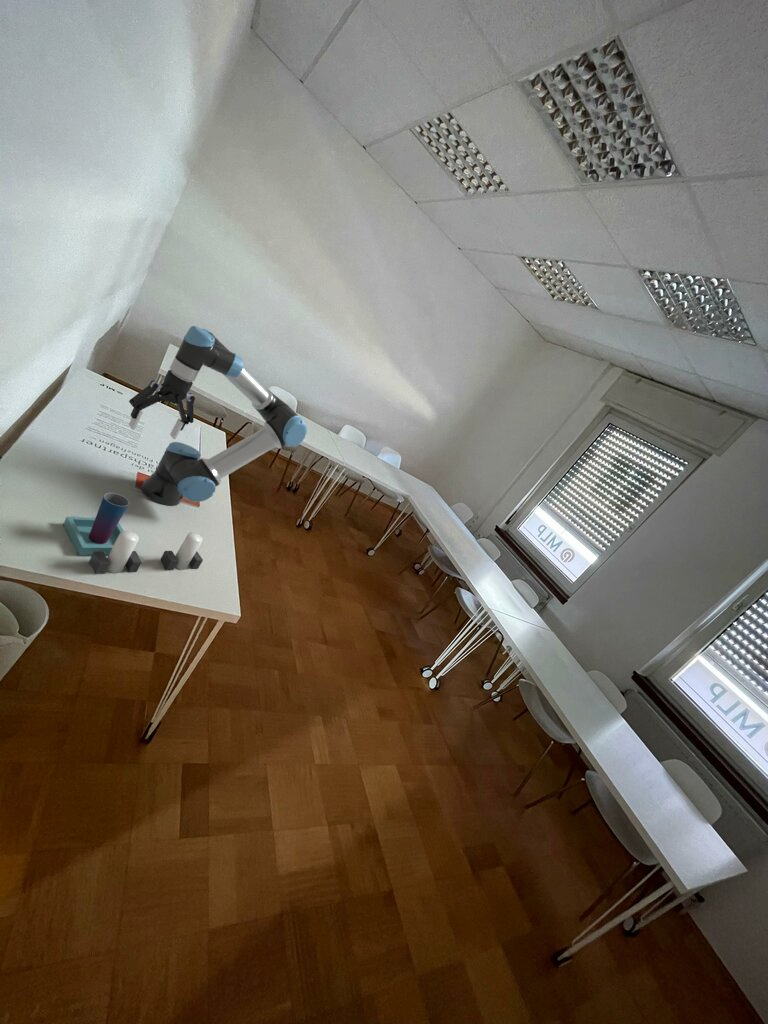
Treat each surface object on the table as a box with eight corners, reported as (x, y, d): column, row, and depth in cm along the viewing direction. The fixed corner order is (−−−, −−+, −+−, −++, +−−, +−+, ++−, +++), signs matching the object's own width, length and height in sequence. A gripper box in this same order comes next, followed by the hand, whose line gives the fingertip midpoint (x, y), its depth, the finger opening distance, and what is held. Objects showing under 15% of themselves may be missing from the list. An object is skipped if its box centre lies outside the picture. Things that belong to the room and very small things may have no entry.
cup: (115, 539, 132) (134, 501, 128) (102, 548, 125) (122, 509, 121) (93, 528, 130) (111, 489, 126) (80, 537, 124) (98, 497, 120)
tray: (112, 526, 137) (116, 519, 136) (129, 555, 131) (133, 547, 130) (62, 524, 125) (66, 516, 124) (78, 556, 119) (82, 547, 118)
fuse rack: (191, 559, 147) (206, 532, 144) (197, 568, 145) (213, 542, 142) (88, 562, 119) (105, 529, 116) (94, 574, 117) (111, 541, 114)
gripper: (210, 383, 143) (183, 434, 148) (135, 354, 121) (107, 415, 127) (221, 394, 139) (192, 446, 145) (146, 366, 118) (116, 429, 124)
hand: (152, 432), depth 136 cm, fingers open, 13 cm apart
